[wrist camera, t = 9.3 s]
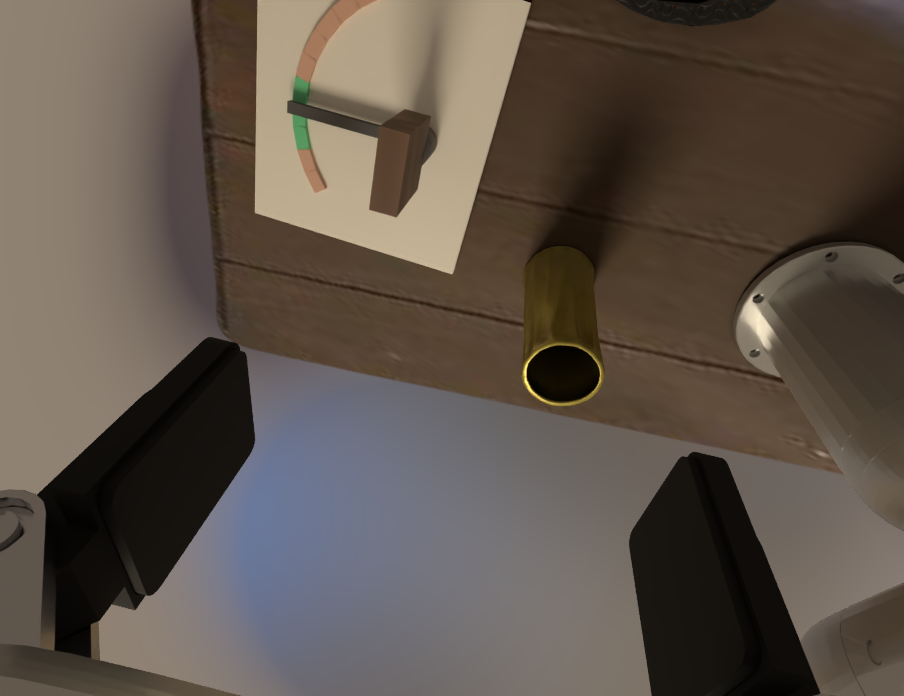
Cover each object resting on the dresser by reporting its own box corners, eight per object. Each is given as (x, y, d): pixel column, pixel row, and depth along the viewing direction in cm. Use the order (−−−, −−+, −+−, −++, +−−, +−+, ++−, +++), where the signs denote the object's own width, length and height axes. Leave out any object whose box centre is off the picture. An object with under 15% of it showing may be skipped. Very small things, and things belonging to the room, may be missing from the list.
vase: (552, 231, 40) (554, 318, 29) (610, 270, 42) (634, 370, 30) (509, 284, 44) (496, 381, 32) (564, 319, 45) (569, 426, 33)
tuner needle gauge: (443, 109, 35) (415, 135, 27) (430, 178, 38) (401, 218, 30) (293, 67, 35) (224, 82, 27) (292, 139, 38) (228, 170, 30)
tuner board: (531, 3, 32) (530, 2, 31) (455, 267, 44) (451, 276, 42) (269, -81, 32) (255, -86, 30) (263, 207, 43) (252, 214, 42)
